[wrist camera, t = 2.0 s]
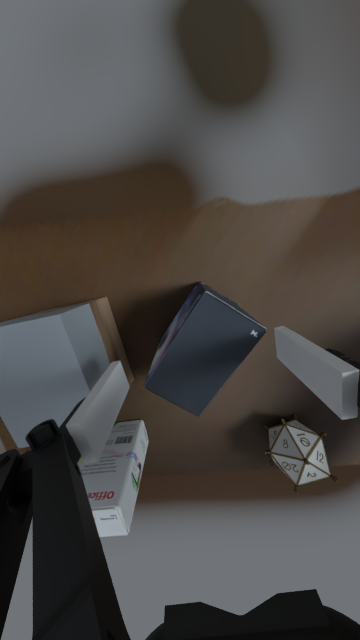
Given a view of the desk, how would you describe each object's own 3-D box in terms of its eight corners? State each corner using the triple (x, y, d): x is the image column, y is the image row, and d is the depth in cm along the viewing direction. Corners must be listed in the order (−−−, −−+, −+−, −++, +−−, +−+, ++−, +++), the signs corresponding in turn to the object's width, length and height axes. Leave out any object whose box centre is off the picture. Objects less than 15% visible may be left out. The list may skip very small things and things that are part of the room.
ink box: (101, 446, 32) (56, 544, 21) (93, 423, 31) (40, 515, 19) (149, 441, 32) (130, 539, 20) (143, 417, 30) (118, 508, 19)
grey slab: (88, 303, 20) (59, 314, 16) (122, 401, 24) (107, 434, 19) (6, 320, 21) (-46, 336, 16) (51, 412, 25) (18, 448, 20)
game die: (267, 418, 34) (263, 486, 28) (260, 395, 29) (252, 472, 23) (330, 431, 29) (341, 518, 23) (333, 407, 24) (348, 508, 18)
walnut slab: (107, 296, 25) (89, 302, 20) (134, 378, 29) (124, 400, 24) (40, 311, 26) (7, 321, 21) (74, 389, 29) (52, 413, 25)
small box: (196, 278, 24) (204, 285, 14) (237, 304, 25) (273, 329, 15) (156, 342, 27) (139, 388, 16) (195, 364, 27) (200, 420, 17)
